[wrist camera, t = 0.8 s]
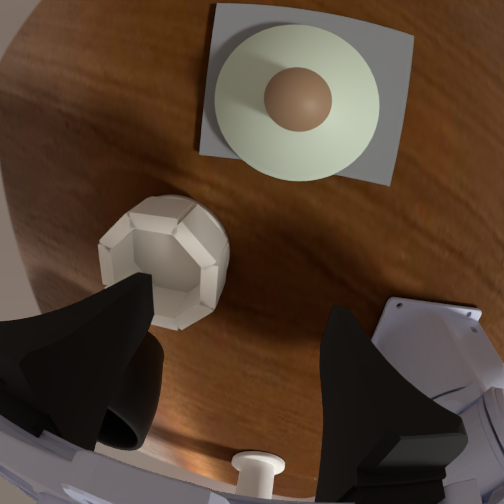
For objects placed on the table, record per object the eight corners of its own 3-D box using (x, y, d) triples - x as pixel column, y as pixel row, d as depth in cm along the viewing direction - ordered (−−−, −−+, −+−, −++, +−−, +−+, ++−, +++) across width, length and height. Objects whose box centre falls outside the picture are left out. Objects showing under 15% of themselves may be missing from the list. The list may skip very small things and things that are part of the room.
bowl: (235, 202, 21) (221, 225, 17) (225, 302, 24) (213, 338, 21) (126, 188, 21) (94, 207, 17) (131, 283, 25) (107, 313, 21)
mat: (410, 37, 14) (414, 36, 14) (387, 183, 19) (389, 186, 18) (219, 5, 15) (217, 3, 15) (202, 153, 20) (199, 154, 19)
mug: (87, 362, 31) (47, 423, 22) (113, 296, 26) (54, 370, 17) (148, 400, 32) (118, 467, 24) (192, 346, 27) (157, 433, 18)
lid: (383, 46, 15) (408, 30, 10) (359, 189, 19) (377, 213, 14) (228, 23, 15) (208, -1, 11) (212, 165, 19) (188, 183, 15)
